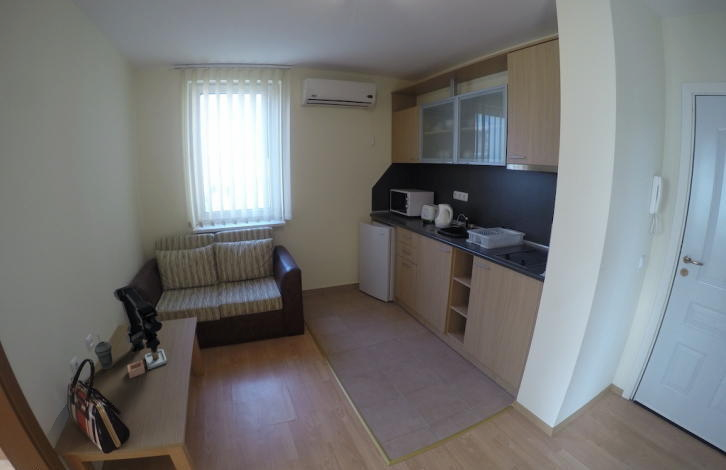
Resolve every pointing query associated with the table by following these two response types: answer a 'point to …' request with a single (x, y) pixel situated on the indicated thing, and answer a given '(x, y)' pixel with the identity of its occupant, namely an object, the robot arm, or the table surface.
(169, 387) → the table surface
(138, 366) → the holder
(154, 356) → the dowel
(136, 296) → the robot arm
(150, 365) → the tray
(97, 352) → the beverage cup
